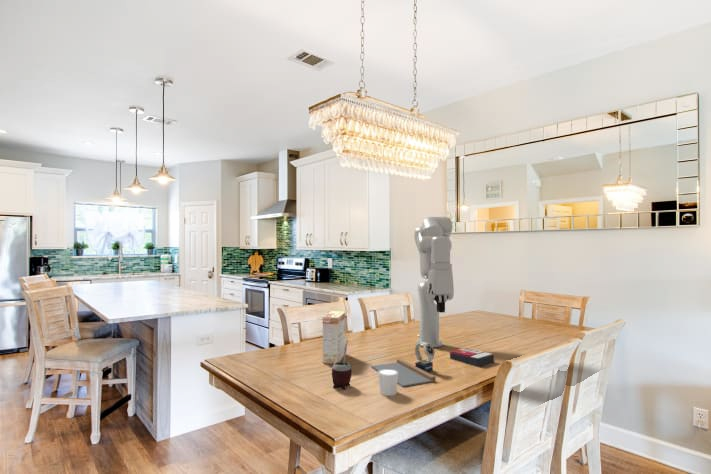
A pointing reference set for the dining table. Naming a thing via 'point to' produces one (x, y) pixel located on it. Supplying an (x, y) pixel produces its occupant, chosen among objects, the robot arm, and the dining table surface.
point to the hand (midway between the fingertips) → (440, 311)
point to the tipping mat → (407, 373)
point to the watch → (429, 352)
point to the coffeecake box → (333, 336)
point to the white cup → (388, 381)
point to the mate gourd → (341, 373)
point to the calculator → (472, 357)
